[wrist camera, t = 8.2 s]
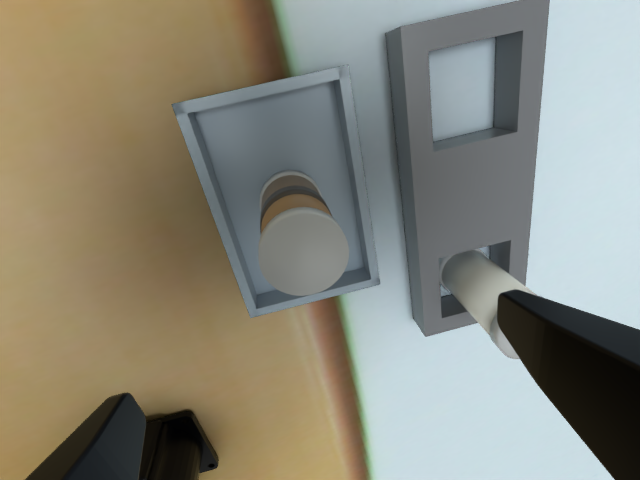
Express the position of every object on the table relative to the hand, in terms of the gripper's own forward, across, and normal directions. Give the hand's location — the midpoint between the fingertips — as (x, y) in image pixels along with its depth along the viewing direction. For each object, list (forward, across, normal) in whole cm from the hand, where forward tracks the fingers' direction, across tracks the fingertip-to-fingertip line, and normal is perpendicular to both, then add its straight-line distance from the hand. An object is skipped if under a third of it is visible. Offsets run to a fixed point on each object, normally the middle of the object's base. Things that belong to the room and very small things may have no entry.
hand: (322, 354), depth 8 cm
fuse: (+12, -10, +8) cm, 18 cm away
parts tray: (+12, 0, 0) cm, 12 cm away
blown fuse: (+12, 0, 0) cm, 12 cm away
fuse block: (+12, -10, +2) cm, 16 cm away
